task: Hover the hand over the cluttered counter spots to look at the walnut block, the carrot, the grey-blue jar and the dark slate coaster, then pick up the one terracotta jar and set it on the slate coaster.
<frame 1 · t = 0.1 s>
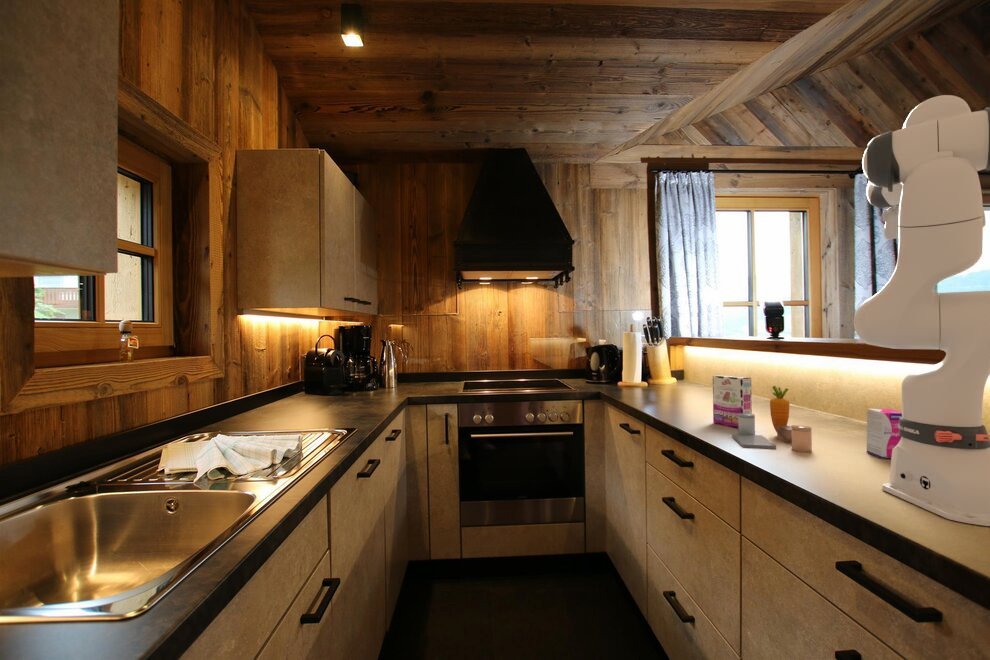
hand: (931, 248, 128), 54 cm above the countertop, tool tilted 30°, fingers open, 8 cm apart
candy bar box: (732, 426, 150), on the countertop
slate coaster: (752, 442, 128), on the countertop
grey-blue jar: (746, 434, 137), on the countertop
supplement box: (886, 456, 113), on the countertop
walnut block: (791, 441, 129), on the countertop
terracotta jar: (801, 450, 120), on the countertop
carrot: (780, 436, 135), on the countertop
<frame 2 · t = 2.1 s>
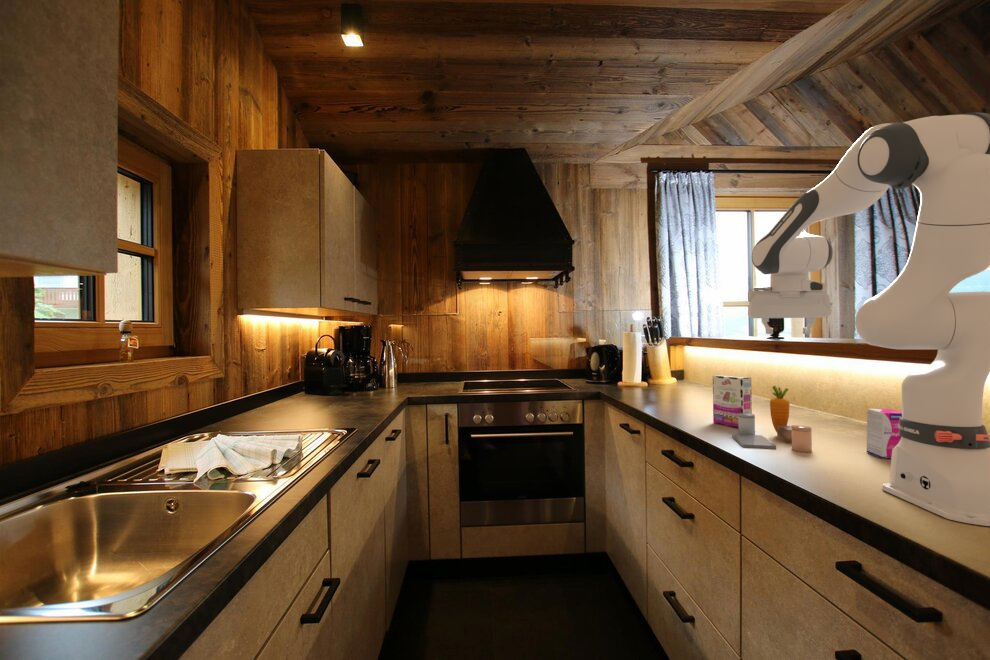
hand: (787, 333, 131), 31 cm above the countertop, tool pointing down, fingers open, 8 cm apart
nothing on the countertop moved.
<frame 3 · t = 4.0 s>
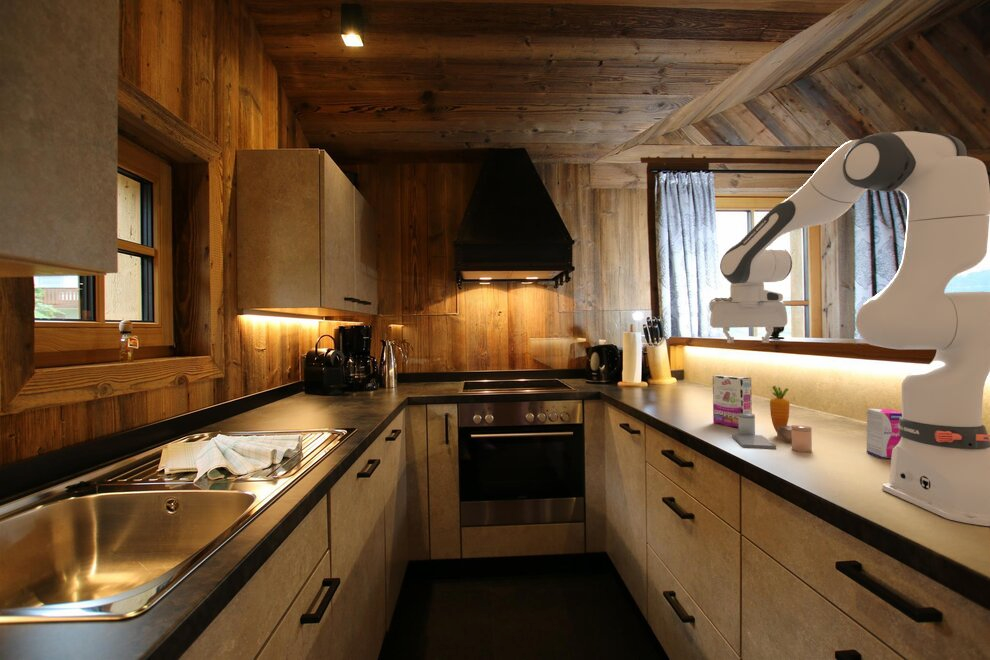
hand: (747, 342, 135), 28 cm above the countertop, tool pointing down, fingers open, 8 cm apart
nothing on the countertop moved.
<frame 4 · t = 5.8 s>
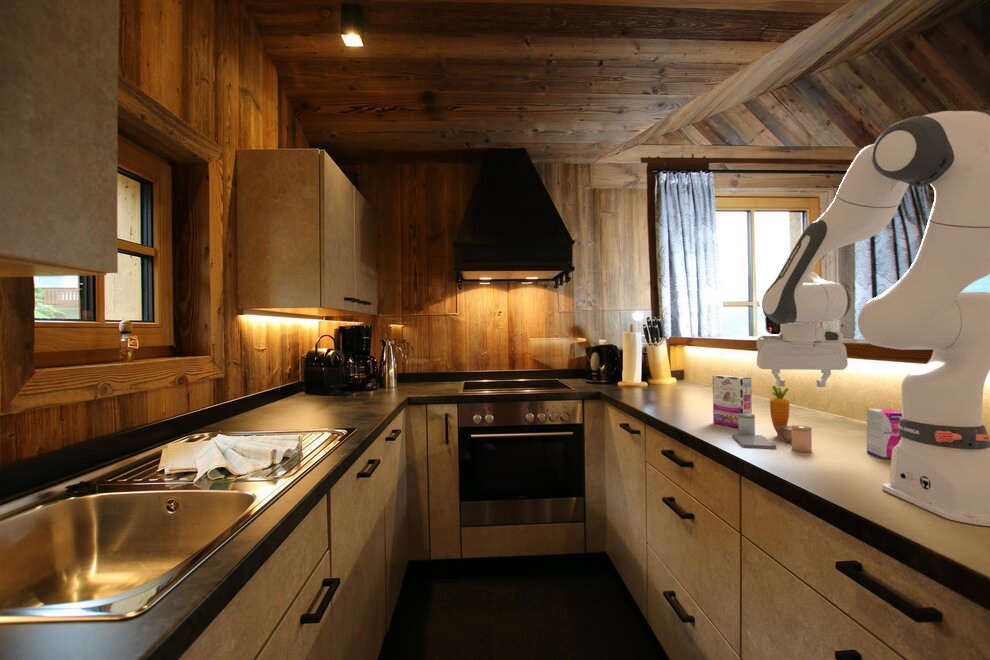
hand: (800, 386, 120), 17 cm above the countertop, tool pointing down, fingers open, 8 cm apart
nothing on the countertop moved.
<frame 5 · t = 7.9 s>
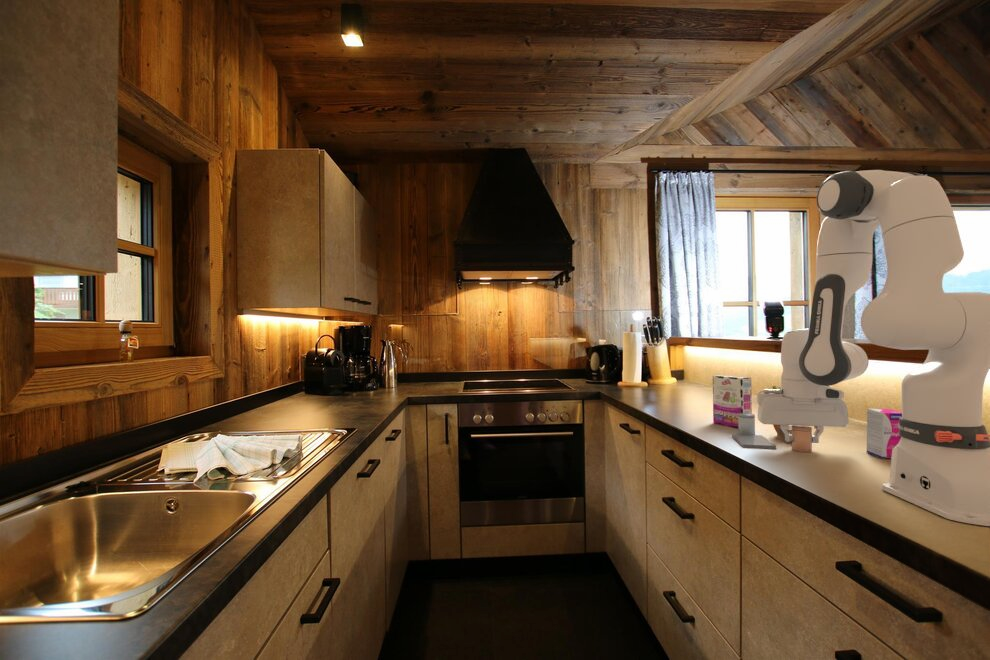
hand: (801, 442, 120), 2 cm above the countertop, tool pointing down, fingers closed on terracotta jar, 4 cm apart
terracotta jar: (801, 450, 120), on the countertop, touching gripper
everything else where it was.
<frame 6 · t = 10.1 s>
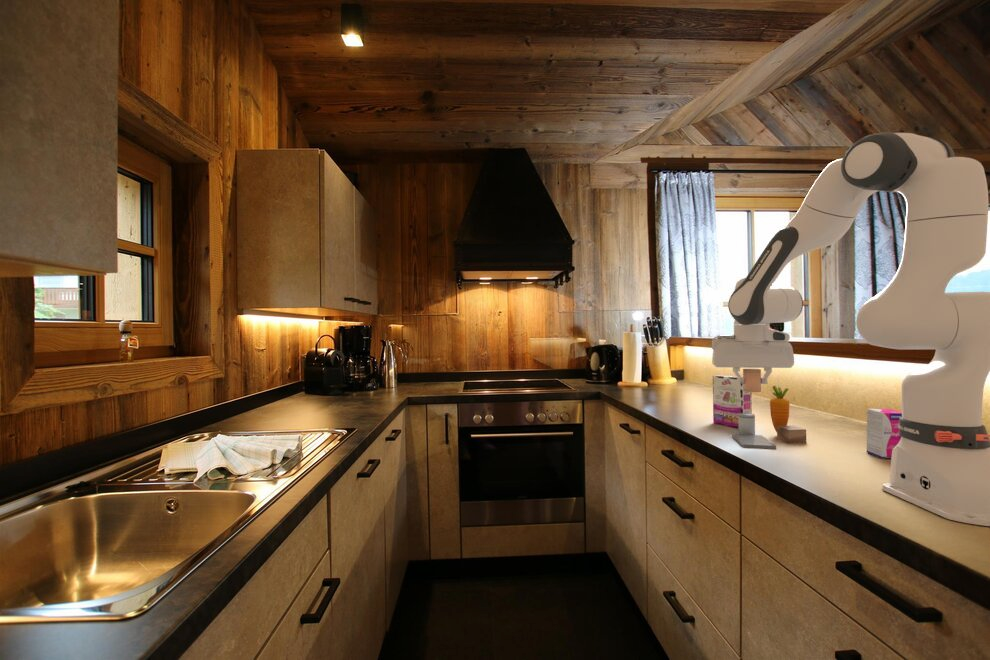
hand: (752, 383, 128), 17 cm above the countertop, tool pointing down, fingers closed on terracotta jar, 4 cm apart
terracotta jar: (752, 391, 128), point 15 cm above the countertop, touching gripper
everything else where it was.
when the fingers open (4 cm above the countertop, at t = 12.7 s): terracotta jar drops 1 cm, resting on slate coaster.
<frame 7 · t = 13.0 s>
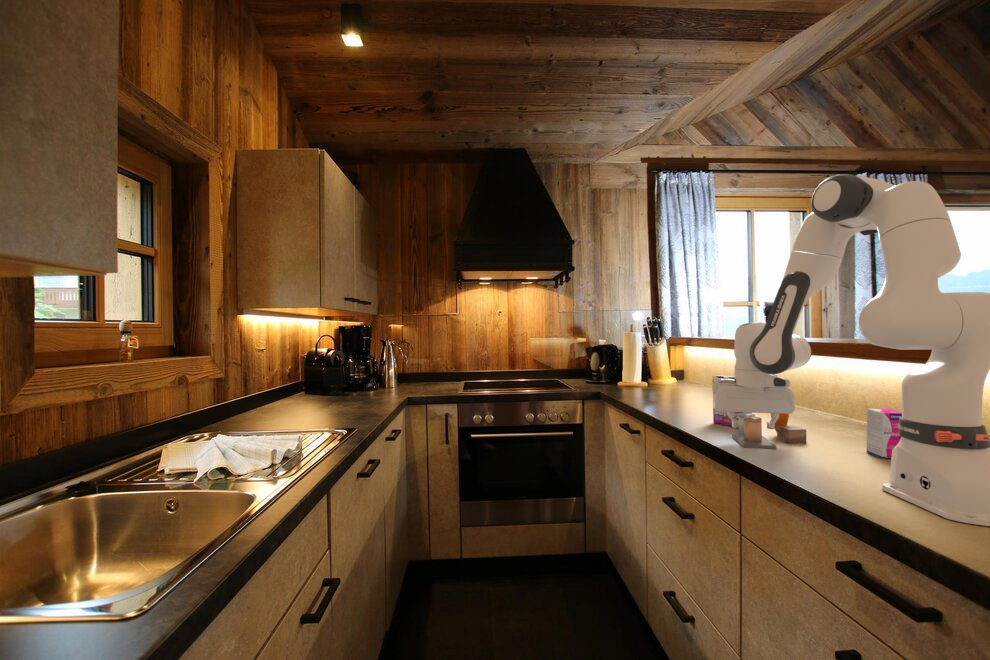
hand: (752, 428, 128), 4 cm above the countertop, tool pointing down, fingers open, 8 cm apart
terracotta jar: (752, 439, 128), point 1 cm above the countertop, touching slate coaster
everything else where it was.
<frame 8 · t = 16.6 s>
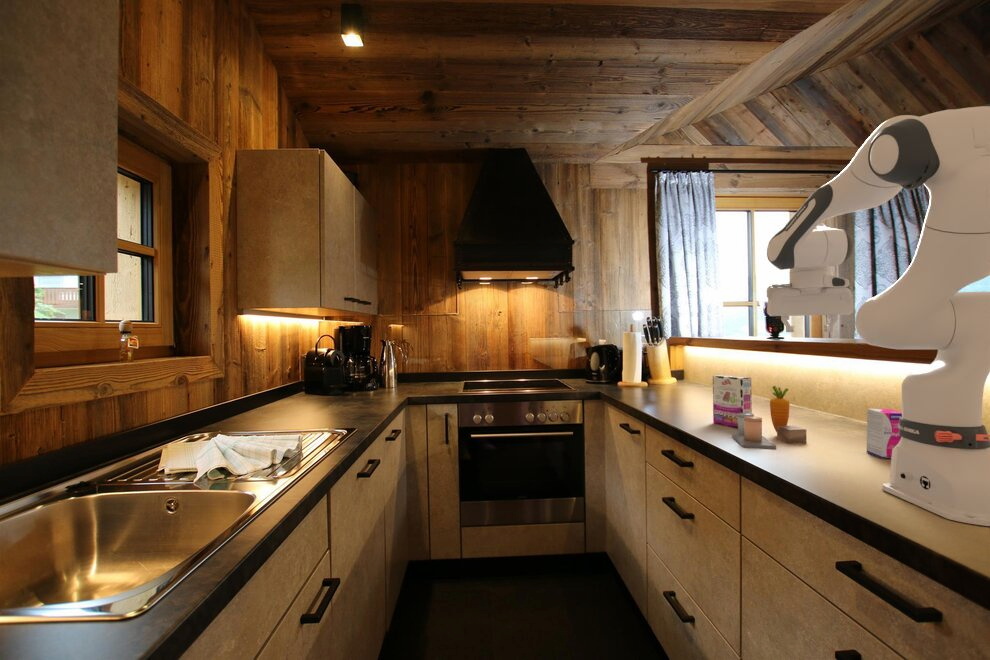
hand: (809, 332, 126), 31 cm above the countertop, tool pointing down, fingers open, 8 cm apart
nothing on the countertop moved.
at the end: terracotta jar inside the target area on the slate coaster (0.1 cm from its centre), point 0.8 cm above the slate coaster's base; terracotta jar tilted 1°; the gripper is holding nothing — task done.
